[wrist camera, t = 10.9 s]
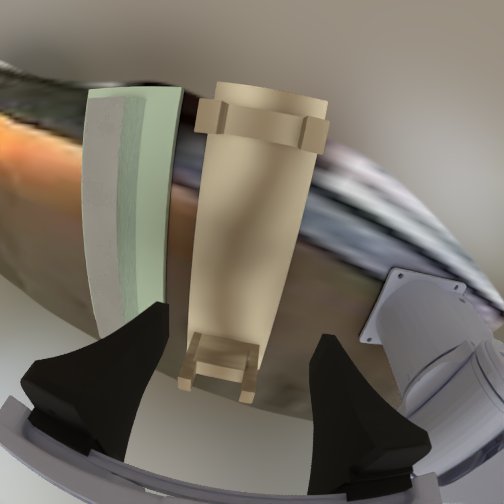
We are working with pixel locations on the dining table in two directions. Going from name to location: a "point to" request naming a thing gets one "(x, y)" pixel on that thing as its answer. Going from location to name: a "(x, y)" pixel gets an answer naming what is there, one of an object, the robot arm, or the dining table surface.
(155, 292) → the mat
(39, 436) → the robot arm
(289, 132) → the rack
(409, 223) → the dining table surface
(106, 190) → the rail
